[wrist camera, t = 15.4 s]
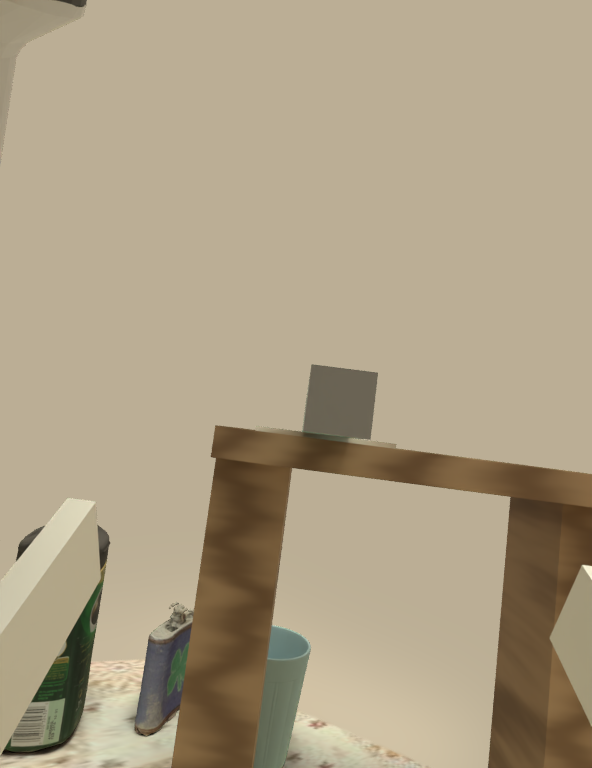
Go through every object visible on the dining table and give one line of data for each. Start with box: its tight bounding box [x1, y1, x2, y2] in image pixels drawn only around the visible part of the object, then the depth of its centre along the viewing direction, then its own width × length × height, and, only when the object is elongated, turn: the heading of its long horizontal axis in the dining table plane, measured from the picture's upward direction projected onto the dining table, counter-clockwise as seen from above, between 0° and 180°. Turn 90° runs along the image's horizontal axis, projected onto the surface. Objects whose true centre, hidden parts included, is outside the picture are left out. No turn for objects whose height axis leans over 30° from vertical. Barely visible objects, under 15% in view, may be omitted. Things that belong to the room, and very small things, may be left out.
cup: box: [253, 626, 311, 768], centre depth 46 cm, size 8×8×10 cm
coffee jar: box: [4, 525, 110, 752], centre depth 47 cm, size 10×8×19 cm
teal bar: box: [302, 365, 378, 439], centre depth 33 cm, size 3×22×3 cm, turn 179°
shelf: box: [171, 426, 592, 768], centre depth 35 cm, size 28×12×30 cm, turn 89°
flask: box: [135, 602, 194, 736], centre depth 51 cm, size 9×3×11 cm, turn 161°
